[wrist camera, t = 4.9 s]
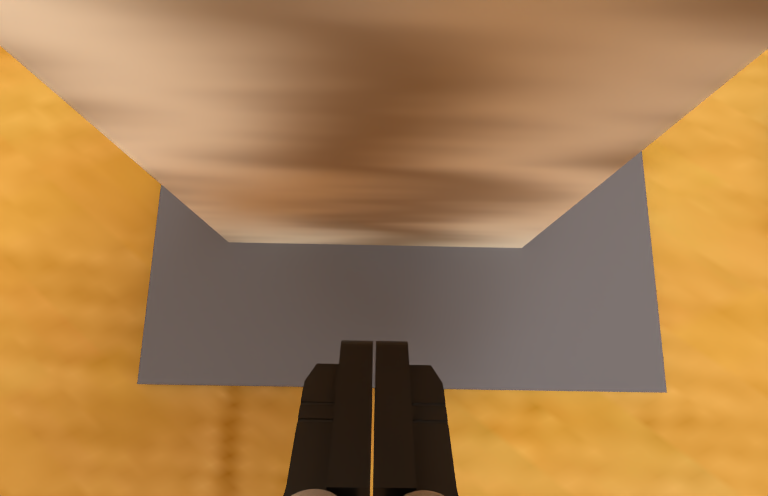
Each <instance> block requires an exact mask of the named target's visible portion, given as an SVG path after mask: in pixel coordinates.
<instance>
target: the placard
mask: <svg viewBox="0 0 768 496" xmlns="http://www.w3.org/2000/svg"><path fill="white" fill-rule="evenodd" d="M0 46H1V47H2V48H4V49H5V50H6V51H7V52H8V53H9V54H11V55H12V56H13V57H14V58H15V59H16V60H18V61H19V62H20V63H21V64H22V65H23V66H25V67H26V68H27V69H28V70H29V71H30V72H31V73H33V74H34V75H35V76H36V77H37V78H38V79H40V80H41V81H42V82H43V83H44V84H45V85H47V86H48V87H49V88H50V89H51V90H52V91H54V92H55V93H56V94H57V95H58V96H59V97H61V98H62V99H63V100H64V101H65V102H66V103H67V104H69V105H70V106H71V107H72V108H73V109H74V110H76V111H77V112H78V113H79V114H80V115H81V116H83V117H84V118H85V119H86V120H87V121H88V122H90V123H91V124H92V125H93V126H94V127H95V128H96V129H98V130H99V131H100V132H101V133H102V134H103V135H105V136H106V137H107V138H108V139H109V140H110V141H112V142H113V143H114V144H115V145H116V146H117V147H119V148H120V149H121V150H122V151H123V152H124V153H126V154H127V155H128V156H129V157H130V158H131V159H132V160H134V161H135V162H136V163H137V164H138V165H139V166H141V167H142V168H143V169H144V170H145V171H146V172H148V173H149V174H150V175H151V176H152V177H153V178H155V179H156V180H157V181H158V182H159V183H160V184H162V185H163V186H164V187H165V188H166V189H167V190H168V191H170V192H171V193H172V194H173V195H174V196H175V197H177V198H178V199H179V200H180V201H181V202H182V203H184V204H185V205H186V206H187V207H188V208H189V209H191V210H192V211H193V212H194V213H195V214H196V215H198V216H199V217H200V218H201V219H202V220H203V221H204V222H206V223H207V224H208V225H209V226H210V227H211V228H213V229H214V230H215V231H216V232H217V233H218V234H220V235H221V236H222V237H223V238H224V239H225V240H227V241H228V242H242V243H292V244H343V245H393V246H443V247H493V248H522V247H524V246H525V245H526V244H527V243H529V242H530V241H531V240H532V239H533V238H535V237H536V236H537V235H538V234H540V233H541V232H542V231H543V230H545V229H546V228H547V227H548V226H549V225H551V224H552V223H553V222H554V221H556V220H557V219H558V218H559V217H561V216H562V215H563V214H564V213H566V212H567V211H568V210H569V209H570V208H572V207H573V206H574V205H575V204H577V203H578V202H579V201H580V200H582V199H583V198H584V197H585V196H587V195H588V194H589V193H590V192H591V191H593V190H594V189H595V188H596V187H598V186H599V185H600V184H601V183H603V182H604V181H605V180H606V179H607V178H609V177H610V176H611V175H612V174H614V173H615V172H616V171H617V170H619V169H620V168H621V167H622V166H624V165H625V164H626V163H627V162H628V161H630V160H631V159H632V158H633V157H635V156H636V155H637V154H638V153H640V152H641V151H642V150H643V149H645V148H646V147H647V146H648V145H649V144H651V143H652V142H653V141H654V140H656V139H657V138H658V137H659V136H661V135H662V134H663V133H664V132H666V131H667V130H668V129H669V128H670V127H672V126H673V125H674V124H675V123H677V122H678V121H679V120H680V119H682V118H683V117H684V116H685V115H686V114H688V113H689V112H690V111H691V110H693V109H694V108H695V107H696V106H698V105H699V104H700V103H701V102H703V101H704V100H705V99H706V98H707V97H709V96H710V95H711V94H712V93H714V92H715V91H716V90H717V89H719V88H720V87H721V86H722V85H724V84H725V83H726V82H727V81H728V80H730V79H731V78H732V77H733V76H735V75H736V74H737V73H738V72H740V71H741V70H742V69H743V68H744V67H746V66H747V65H748V64H749V63H751V62H752V61H753V60H754V59H756V58H757V57H758V56H759V55H761V54H762V53H763V52H764V51H765V50H767V49H768V0H0Z"/></svg>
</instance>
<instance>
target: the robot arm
mask: <svg viewBox="0 0 768 496" xmlns="http://www.w3.org/2000/svg"><path fill="white" fill-rule="evenodd" d="M372 375H373V341H355V340H342V341H341V346H340V356H339V364H320V363H317V364H316V365H315V367H314V368H313V370H312V371H311V372H310V374H309V375H308V377H307V378H306V379H305V381H304V387H303V392H302V398H301V405H300V410H299V416H298V423H297V427H296V433H295V439H294V445H293V450H292V456H291V462H290V468H289V474H288V479H287V485H286V489H285V493H284V495H283V496H370V469H371V425H372ZM447 421H448V420H447V412H446V407H445V397H444V389H443V383H442V381H441V380H440V378H439V377H438V375H437V374H436V372H435V370H434V369H433V367H432V366H431V365H409V351H408V342H407V341H376V362H375V411H374V469H373V496H458V493H457V488H456V481H455V473H454V465H453V458H452V450H451V442H450V435H449V427H448V422H447Z"/></svg>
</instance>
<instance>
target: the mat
mask: <svg viewBox="0 0 768 496" xmlns="http://www.w3.org/2000/svg"><path fill="white" fill-rule="evenodd" d="M342 340H355V341H373V375H372V388H375V362H376V341H407V342H408V351H409V365H431V366H432V367H433V369H434V370H435V372H436V374H437V375H438V377H439V378H440V380H441V381H442V383H443V389H481V390H544V391H607V392H667V391H666V381H665V372H664V362H663V352H662V343H661V333H660V324H659V314H658V304H657V295H656V285H655V275H654V266H653V256H652V246H651V237H650V227H649V218H648V208H647V198H646V189H645V179H644V169H643V160H642V151H641V152H640V153H638V154H637V155H636V156H635V157H633V158H632V159H631V160H630V161H628V162H627V163H626V164H625V165H624V166H622V167H621V168H620V169H619V170H617V171H616V172H615V173H614V174H612V175H611V176H610V177H609V178H607V179H606V180H605V181H604V182H603V183H601V184H600V185H599V186H598V187H596V188H595V189H594V190H593V191H591V192H590V193H589V194H588V195H587V196H585V197H584V198H583V199H582V200H580V201H579V202H578V203H577V204H575V205H574V206H573V207H572V208H570V209H569V210H568V211H567V212H566V213H564V214H563V215H562V216H561V217H559V218H558V219H557V220H556V221H554V222H553V223H552V224H551V225H549V226H548V227H547V228H546V229H545V230H543V231H542V232H541V233H540V234H538V235H537V236H536V237H535V238H533V239H532V240H531V241H530V242H529V243H527V244H526V245H525V246H524V247H522V248H493V247H443V246H393V245H343V244H292V243H242V242H228V241H227V240H225V239H224V238H223V237H222V236H221V235H220V234H218V233H217V232H216V231H215V230H214V229H213V228H211V227H210V226H209V225H208V224H207V223H206V222H204V221H203V220H202V219H201V218H200V217H199V216H198V215H196V214H195V213H194V212H193V211H192V210H191V209H189V208H188V207H187V206H186V205H185V204H184V203H182V202H181V201H180V200H179V199H178V198H177V197H175V196H174V195H173V194H172V193H171V192H170V191H168V190H167V189H166V188H165V187H164V186H163V185H162V184H161V191H160V199H159V207H158V216H157V224H156V232H155V241H154V249H153V257H152V266H151V274H150V282H149V291H148V299H147V307H146V316H145V324H144V332H143V341H142V349H141V357H140V366H139V374H138V382H137V384H168V385H230V386H293V387H304V381H305V379H306V378H307V377H308V375H309V374H310V372H311V371H312V370H313V368H314V367H315V365H316V364H317V363H320V364H339V356H340V346H341V341H342Z"/></svg>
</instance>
